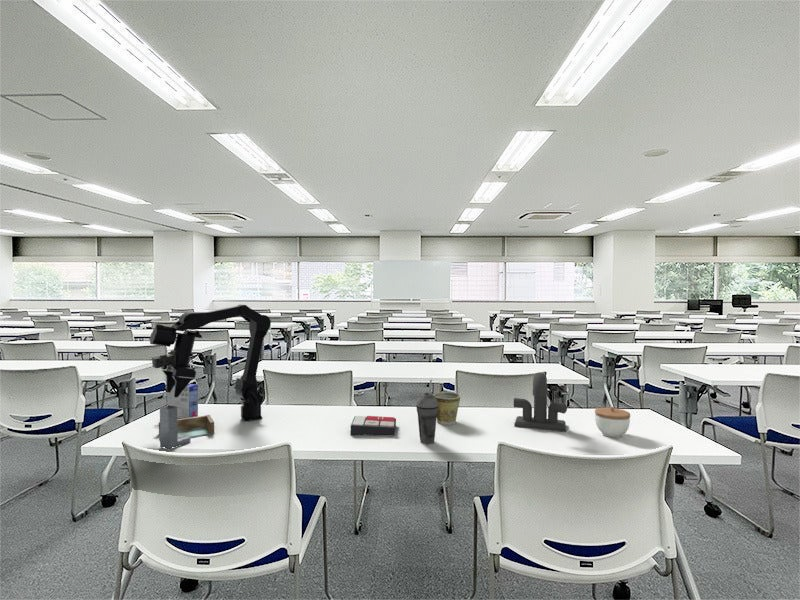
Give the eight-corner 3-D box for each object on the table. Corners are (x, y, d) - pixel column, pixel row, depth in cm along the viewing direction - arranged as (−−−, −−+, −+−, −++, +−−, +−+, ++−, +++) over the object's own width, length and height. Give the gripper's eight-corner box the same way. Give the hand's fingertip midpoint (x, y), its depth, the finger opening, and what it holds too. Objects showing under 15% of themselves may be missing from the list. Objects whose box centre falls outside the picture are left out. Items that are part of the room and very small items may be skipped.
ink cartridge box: (199, 415, 170) (198, 378, 169) (189, 419, 164) (189, 381, 164) (176, 413, 172) (176, 377, 171) (166, 417, 166) (166, 380, 166)
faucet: (510, 432, 149) (510, 374, 148) (514, 419, 164) (515, 366, 163) (567, 439, 143) (567, 378, 142) (566, 425, 157) (567, 369, 157)
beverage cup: (414, 438, 143) (414, 377, 143) (436, 437, 144) (436, 377, 143) (417, 446, 136) (417, 382, 136) (440, 445, 137) (440, 381, 136)
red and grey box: (395, 425, 146) (350, 423, 146) (394, 438, 146) (350, 436, 146) (396, 416, 157) (354, 413, 157) (395, 428, 157) (354, 425, 157)
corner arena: (209, 425, 156) (209, 414, 156) (214, 433, 148) (214, 422, 148) (158, 433, 148) (158, 422, 148) (160, 442, 139) (160, 430, 139)
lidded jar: (588, 429, 152) (589, 403, 152) (618, 429, 153) (618, 402, 152) (604, 440, 141) (605, 411, 141) (636, 439, 142) (637, 411, 142)
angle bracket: (168, 449, 133) (168, 409, 133) (160, 447, 135) (159, 407, 134) (190, 442, 140) (189, 403, 139) (181, 440, 142) (181, 401, 141)
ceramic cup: (457, 427, 154) (457, 399, 154) (429, 424, 157) (430, 397, 157) (463, 417, 167) (463, 391, 166) (438, 415, 170) (438, 389, 169)
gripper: (150, 342, 151) (139, 387, 149) (165, 348, 137) (152, 398, 135) (184, 347, 158) (173, 390, 156) (201, 353, 144) (190, 400, 142)
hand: (172, 394), depth 147 cm, fingers open, 9 cm apart
